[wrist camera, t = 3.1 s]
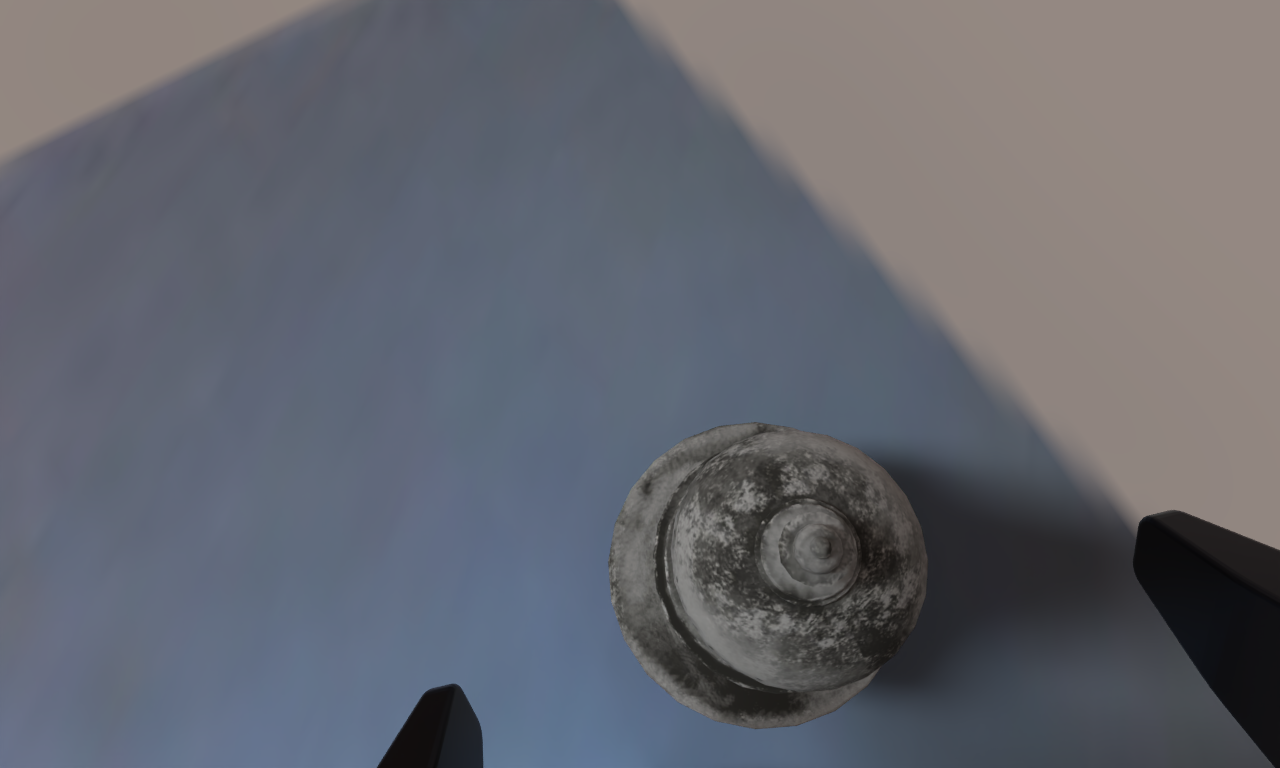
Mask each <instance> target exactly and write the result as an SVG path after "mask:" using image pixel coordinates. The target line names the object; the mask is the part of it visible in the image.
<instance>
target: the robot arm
mask: <svg viewBox="0 0 1280 768" xmlns="http://www.w3.org/2000/svg"><path fill="white" fill-rule="evenodd" d="M1133 567H1134V572H1135V575H1136V577H1137V579H1138V581H1139V583H1140V584H1141V586H1142V587H1143V589H1144V590H1145V592H1146V593H1147V595H1148V596H1149V598H1150V599H1151V601H1152V602H1153V604H1154V605H1155V607H1156V608H1157V610H1158V611H1159V613H1160V614H1161V616H1162V617H1163V619H1164V620H1165V622H1166V623H1167V625H1168V626H1169V628H1170V629H1171V631H1172V632H1173V634H1174V635H1175V637H1176V638H1177V640H1178V641H1179V643H1180V644H1181V646H1182V647H1183V649H1184V650H1185V652H1186V653H1187V655H1188V656H1189V658H1190V659H1191V661H1192V662H1193V663H1194V665H1195V666H1196V668H1197V669H1198V671H1199V672H1200V674H1201V675H1202V677H1203V678H1204V679H1205V681H1206V682H1207V684H1208V685H1209V686H1210V688H1211V689H1212V691H1213V692H1214V693H1215V694H1216V696H1217V697H1218V698H1219V699H1220V701H1221V702H1222V703H1223V705H1224V706H1225V707H1226V708H1227V710H1228V711H1229V712H1230V713H1231V714H1232V716H1233V717H1234V718H1235V719H1236V721H1237V722H1238V723H1239V724H1240V725H1241V727H1242V728H1243V729H1244V730H1245V732H1246V733H1247V734H1248V735H1249V736H1250V738H1251V739H1252V740H1253V741H1254V743H1255V744H1256V745H1257V746H1258V747H1259V749H1260V750H1261V751H1262V752H1263V754H1264V755H1265V756H1266V757H1267V758H1268V760H1269V761H1270V762H1271V763H1272V765H1273V766H1274V767H1275V768H1280V550H1278V549H1275V548H1273V547H1270V546H1268V545H1265V544H1263V543H1260V542H1257V541H1255V540H1253V539H1250V538H1247V537H1245V536H1242V535H1240V534H1238V533H1235V532H1232V531H1230V530H1228V529H1225V528H1223V527H1220V526H1217V525H1215V524H1212V523H1210V522H1207V521H1205V520H1202V519H1200V518H1197V517H1195V516H1192V515H1190V514H1187V513H1185V512H1181V511H1176V510H1170V511H1165V512H1161V513H1157V514H1153V515H1149V516H1146V517H1144V518H1143V519H1142V520H1141V521H1140V523H1139V526H1138V532H1137V539H1136V545H1135V551H1134V558H1133ZM377 768H483V740H482V731H481V726H480V723H479V721H478V718H477V716H476V715H475V713H474V711H473V709H472V707H471V705H470V703H469V701H468V700H467V698H466V696H465V694H464V692H463V690H462V689H461V687H460V686H459V685H457V684H449V685H445V686H441V687H436V688H432V689H430V690H428V691H426V692H425V693H424V694H423V696H422V697H421V698H420V700H419V702H418V703H417V705H416V706H415V708H414V710H413V711H412V713H411V714H410V716H409V717H408V719H407V721H406V722H405V724H404V725H403V727H402V729H401V730H400V732H399V733H398V735H397V736H396V738H395V740H394V741H393V743H392V744H391V746H390V748H389V749H388V751H387V752H386V754H385V755H384V757H383V759H382V760H381V762H380V763H379V765H378V767H377Z"/></svg>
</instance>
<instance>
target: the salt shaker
mask: <svg viewBox="0 0 1280 768" xmlns="http://www.w3.org/2000/svg"><path fill="white" fill-rule="evenodd" d="M608 563H609V577H610V590H611V602H612V605H613V608H614V611H615V613H616V616H617V619H618V622H619V625H620V628H621V631H622V634H623V637H624V640H625V641H626V643H627V644H628V646H629V647H630V649H631V651H632V652H633V654H634V655H635V657H636V658H637V660H638V661H639V663H640V664H641V666H642V667H643V669H644V670H645V672H646V673H647V675H648V676H650V677H651V678H652V679H653V680H654V681H655V682H656V683H657V684H658V685H660V686H661V687H662V688H663V689H664V690H665V691H666V692H667V693H668V694H670V695H671V696H672V697H673V698H674V699H675V700H676V701H677V702H679V703H681V704H683V705H685V706H687V707H689V708H691V709H693V710H695V711H696V712H698V713H700V714H702V715H704V716H706V717H708V718H710V719H712V720H714V721H718V722H723V723H728V724H733V725H738V726H743V727H748V728H753V729H763V728H776V727H788V726H797V725H800V724H803V723H805V722H808V721H810V720H813V719H816V718H818V717H821V716H823V715H826V714H829V713H831V712H834V711H836V710H837V709H838V708H840V707H841V706H842V705H843V704H845V703H846V702H847V701H849V700H850V699H851V698H853V697H854V696H855V695H856V694H858V693H859V692H860V691H862V690H863V689H864V688H865V687H867V686H868V684H869V683H870V682H871V680H872V679H873V678H874V676H875V675H876V673H877V672H878V671H879V669H880V668H881V667H882V665H883V664H885V663H886V662H887V661H888V660H890V659H891V658H892V657H894V656H895V655H896V653H897V652H898V650H899V649H900V648H901V646H902V645H903V643H904V642H905V641H906V639H907V638H908V636H909V635H910V634H911V632H912V631H913V629H914V628H915V626H916V623H917V620H918V617H919V614H920V611H921V608H922V605H923V602H924V599H925V597H926V586H927V570H928V558H927V553H926V548H925V543H924V538H923V533H922V528H921V525H920V523H919V521H918V519H917V517H916V515H915V513H914V511H913V509H912V506H911V504H910V502H909V500H908V498H907V496H906V495H905V493H904V492H903V491H902V490H901V488H900V487H899V486H898V485H897V483H896V482H895V481H894V480H893V479H892V477H891V476H890V475H889V474H888V472H887V471H886V470H885V469H884V468H883V467H881V466H880V465H879V464H878V463H876V462H875V461H874V460H872V459H871V458H870V457H868V456H867V455H866V454H864V453H863V452H862V451H860V450H859V449H858V448H856V447H853V446H851V445H849V444H846V443H844V442H842V441H839V440H837V439H835V438H832V437H830V436H828V435H822V434H816V433H810V432H804V431H799V430H797V429H794V428H790V427H784V426H777V425H770V424H764V423H757V422H754V423H744V424H735V425H725V426H718V427H715V428H713V429H710V430H708V431H705V432H702V433H700V434H697V435H694V436H692V437H689V438H686V439H684V440H683V441H681V442H680V443H679V444H677V445H676V446H674V447H673V448H672V449H670V450H669V451H667V452H666V453H665V454H663V455H662V456H660V457H659V458H658V459H656V460H655V461H654V462H653V463H652V464H651V466H650V467H649V468H648V469H647V470H646V472H645V473H644V474H643V475H642V477H641V478H640V479H639V480H638V481H637V483H636V484H635V485H634V486H633V487H632V489H631V490H630V493H629V495H628V497H627V499H626V501H625V503H624V506H623V508H622V510H621V512H620V514H619V516H618V519H617V521H616V523H615V527H614V533H613V539H612V544H611V550H610V555H609V561H608Z"/></svg>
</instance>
